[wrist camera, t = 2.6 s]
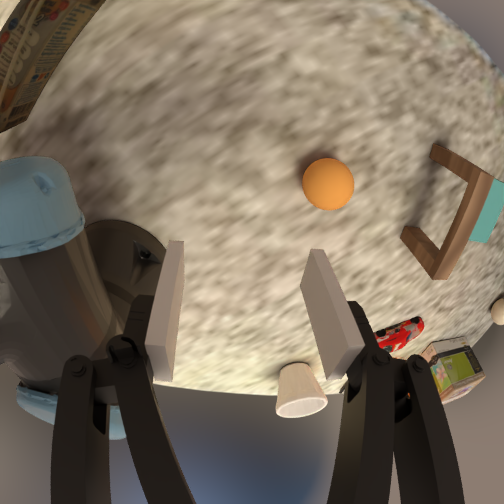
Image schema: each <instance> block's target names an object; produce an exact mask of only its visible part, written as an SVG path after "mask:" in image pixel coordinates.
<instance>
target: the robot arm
mask: <svg viewBox="0 0 504 504" xmlns="http://www.w3.org/2000/svg"><path fill="white" fill-rule="evenodd" d="M84 224H85V218H84V214H83V213H82V212H81V210H80V209H79V207H78V204H77V201H76V198H75V195H74V192H73V188H72V185H71V181H70V178H69V175H68V173H67V171H66V169H65V168H64V167H63V166H62V165H61V164H60V163H59V162H58V161H56V160H54V159H52V158H49V157H45V156H26V157H19V158H14V159H9V160H5V161H1V162H0V364H3V363H6V364H7V365H8V366H9V367H10V368H11V370H12V371H13V372H14V373H15V374H16V375H17V376H18V377H19V378H20V379H21V381H20V383H19V385H17V388H16V390H17V402H18V404H19V405H20V406H21V407H22V408H23V409H24V410H26V411H27V412H29V413H31V414H32V415H34V416H36V417H38V418H40V419H42V420H44V421H46V422H48V423H51V424H54V430H53V441H52V455H51V504H111V493H110V473H109V439H123V438H125V437H126V438H127V441H128V445H129V448H130V452H131V455H132V458H133V462H134V465H135V468H136V471H137V474H138V477H139V480H140V483H141V486H142V488H143V491H144V494H145V497H146V499H147V502H148V504H196V502H195V500H194V498H193V495H192V493H191V491H190V489H189V486H188V484H187V482H186V480H185V477H184V475H183V473H182V470H181V468H180V465H179V462H178V460H177V458H176V455H175V452H174V449H173V447H172V444H171V441H170V438H169V436H168V433H167V430H166V427H165V424H164V421H163V418H162V415H161V411H160V408H159V405H158V402H157V398H156V395H155V392H154V388H153V385H152V384H153V376H154V378H155V380H157V381H168V382H172V380H173V370H174V360H175V350H176V341H177V333H178V324H179V316H180V309H181V301H182V294H183V287H184V241H169V244H168V247H167V251H166V250H165V249H164V247H163V246H162V245H161V244H160V242H159V241H158V240H157V239H155V238H154V237H153V236H152V235H151V234H149V233H148V232H146V231H145V230H143V229H141V228H139V227H137V226H135V225H133V224H130V223H127V222H122V221H115V220H106V221H100V222H96V223H93V224H91V225H89V226H88V227H86V228H84ZM300 288H301V291H302V294H303V298H304V301H305V304H306V308H307V311H308V315H309V318H310V322H311V325H312V329H313V332H314V336H315V339H316V343H317V346H318V350H319V354H320V357H321V361H322V365H323V368H324V372H325V376H326V380H336V379H342V377H343V376H344V375H345V373H346V374H347V377H348V380H347V381H346V383H345V384H344V385H343V387H342V388H341V389H340V392H339V393H342V392H343V391H344V389H345V391H344V401H343V410H342V419H341V427H340V434H339V441H338V447H337V453H336V459H335V465H334V471H333V476H332V481H331V486H330V491H329V496H328V500H327V504H388V500H389V494H390V485H391V476H392V464H393V451H394V457H395V463H396V469H397V475H398V483H399V490H400V498H401V504H465V502H464V495H463V488H462V482H461V477H460V472H459V466H458V462H457V457H456V453H455V448H454V444H453V440H452V436H451V433H450V429H449V425H448V421H447V418H446V414H445V411H444V408H443V405H442V401H441V398H440V395H439V392H438V389H437V386H436V383H435V380H434V377H433V375H432V372H431V369H430V366H429V364H428V362H427V360H426V359H425V358H424V357H422V356H420V355H416V354H414V355H411V356H410V357H409V358H408V359H407V360H402V359H396V358H392V357H391V355H390V354H389V352H387V351H386V350H385V349H382V348H380V347H379V344H378V342H377V340H376V337H375V335H374V333H373V331H372V328H371V326H370V324H369V322H368V319H367V318H366V315H365V313H364V311H363V308H362V307H361V306H360V305H359V304H358V303H357V302H356V301H347V300H346V298H345V296H344V293H343V291H342V289H341V287H340V284H339V282H338V280H337V278H336V275H335V273H334V271H333V269H332V267H331V264H330V262H329V260H328V258H327V256H326V254H325V252H324V250H322V249H311V250H310V254H309V257H308V261H307V264H306V267H305V271H304V274H303V277H302V281H301V284H300ZM408 393H409V394H408Z"/></svg>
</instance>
